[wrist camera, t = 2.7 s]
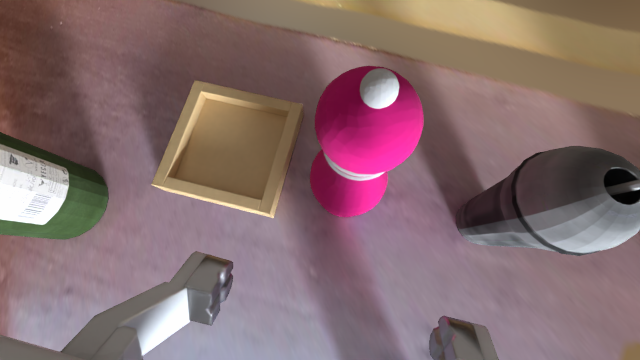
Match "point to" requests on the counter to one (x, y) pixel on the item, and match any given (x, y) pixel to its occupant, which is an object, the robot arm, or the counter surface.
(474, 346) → the robot arm
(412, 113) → the pepper mill
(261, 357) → the counter surface
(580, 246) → the beverage cup
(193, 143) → the tray
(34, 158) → the wine bottle
